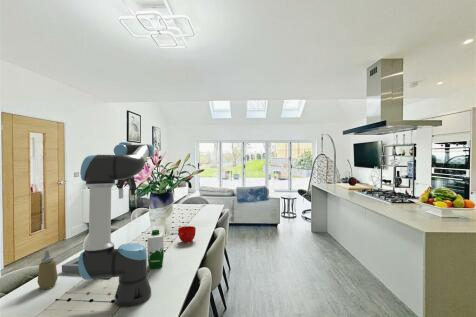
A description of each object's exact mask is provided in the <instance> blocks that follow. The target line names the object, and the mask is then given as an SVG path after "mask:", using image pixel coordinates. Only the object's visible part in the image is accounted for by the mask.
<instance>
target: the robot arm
mask: <svg viewBox="0 0 476 317" xmlns="http://www.w3.org/2000/svg"><path fill="white" fill-rule="evenodd" d="M154 155H155V146H154V145H153V144H148V143H147V144H132V142H129V141H125V142H122V141H121V142H119V144H116V145H115V146H114V148H113V154H94V155H93V154H91V155H87V156H86V157H85V158H84V159H83V160H82V163H81V166H80V179H81V180H82V181H83V182H85V186H86V187H88V189H89V197H88V198H89V202H88V203H89V205H88V207H89V210H88V244H87V245H86V246H85V247H84V251H82V252H81V253H80V255H79V256H78V257H79V261H78V268H79V273H78V274H79V276H80V277H81V278H82V279H83V280H86V281H88V280H93V281H95V280H102V279H101V278H110V277H112V278H117V277H118V286H117V287H116V288H117V289H116V290H115V293H114V294H115V295H114V303H115V305H117V306H119V307H122V308H128V307H135V306H139V305H141V304H143V303H145V302H146V301H148V300H149V299H150V298H151V296H152V288H151V285H150V282H149V279H148V269H147V268H148V267H147V266H148V265H147V264H148V263H147V261H148V254H147V248H146V247H145V245H143V244H142V243H135V242H129V243H127V242H126V243H124V244H120V245H119V246H118V248H115V244H114V242H112V241H111V239H112V238H111V237H112V235H111V234H112V233H111V232H112V229H111V228H112V225H111V224H112V187H114V186H115V185H116V188H117V189H118V199H119V200H120V199H121V200H122V199H124V185H125V183H127V184H128V187H129V201H135V190H137V188H138V187H137V184H136V181H135V176H137V175H138V174H139V173H141V172H142V171H143V170H144V168H145V164H146V160H147V159H148V158H150V157H154ZM116 181H117V183H116Z"/></svg>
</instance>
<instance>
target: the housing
mask: <svg viewBox="0 0 476 317" xmlns="http://www.w3.org/2000/svg"><path fill="white" fill-rule="evenodd" d="M78 261H79V256H77V257H76V258H72V260H69V261H67V262H66V263H63V264H62V265H61V273H62V274H63V273H65V274H67V273H68V274H69V273H70V274H80V273H79V268H78Z"/></svg>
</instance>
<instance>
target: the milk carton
mask: <svg viewBox="0 0 476 317" xmlns="http://www.w3.org/2000/svg"><path fill="white" fill-rule="evenodd" d="M164 252H165V251H164V235H163V232H160V230H159V229H153V230H152V231H151V233H149V234H148V236H147V261H148V263H147V264H148V269H149V270H153V269H160V268H163V264H164V263H163V262H164V257H165V256H164Z"/></svg>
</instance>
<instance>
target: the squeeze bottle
mask: <svg viewBox="0 0 476 317" xmlns="http://www.w3.org/2000/svg"><path fill="white" fill-rule="evenodd" d="M44 252H45V253H44V256H43V257H42V258H41V262H40V263H39V264H38V273H37V284H38V286H39V289H40V290H48V289H51V288H53V287H55V286H56V283H57V281H58V278H59V276H58V270H57V264H56V260H54V256H53V255H51V254H50V250H49V249H46V250H45V251H44Z"/></svg>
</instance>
